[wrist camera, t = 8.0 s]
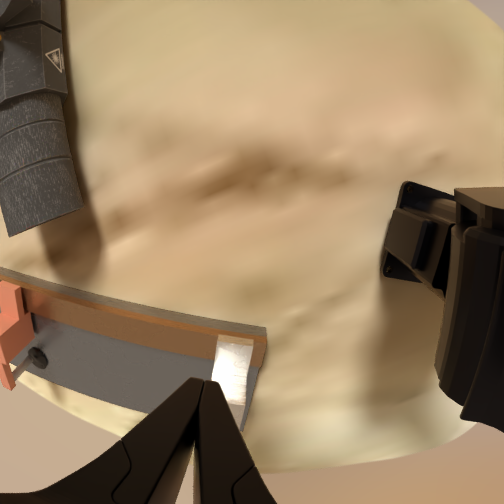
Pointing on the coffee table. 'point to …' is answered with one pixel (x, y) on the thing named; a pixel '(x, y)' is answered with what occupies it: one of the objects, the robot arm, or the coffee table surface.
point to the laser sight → (33, 117)
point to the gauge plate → (134, 347)
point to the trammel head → (13, 332)
